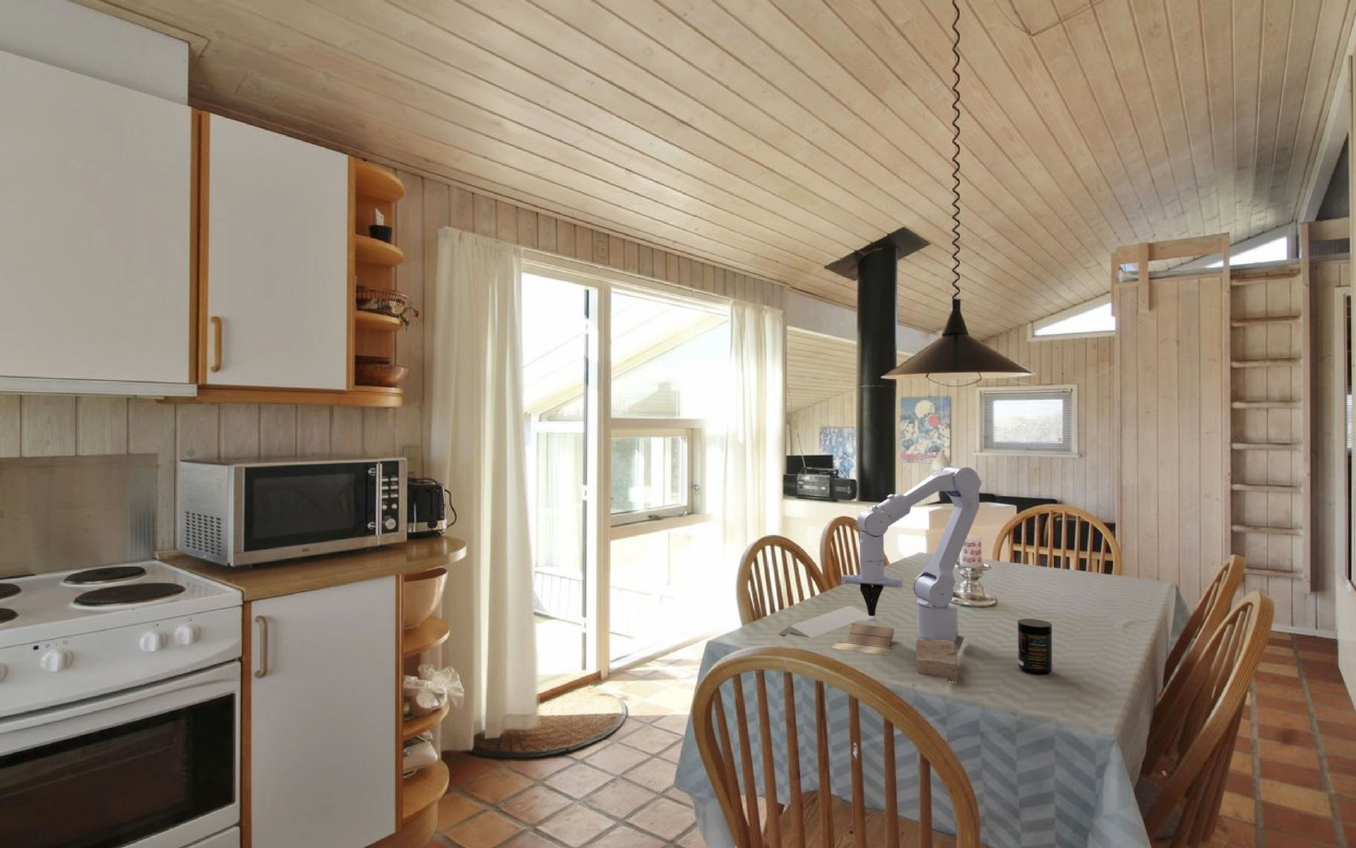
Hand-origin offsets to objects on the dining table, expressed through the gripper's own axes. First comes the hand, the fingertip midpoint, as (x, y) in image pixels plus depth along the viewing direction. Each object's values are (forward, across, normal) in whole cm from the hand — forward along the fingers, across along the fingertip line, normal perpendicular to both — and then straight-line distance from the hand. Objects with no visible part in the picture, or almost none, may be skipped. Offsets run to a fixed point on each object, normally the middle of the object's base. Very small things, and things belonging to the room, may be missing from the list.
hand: (871, 615), depth 178 cm
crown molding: (+8, +12, -11) cm, 18 cm away
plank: (+5, 0, +2) cm, 6 cm away
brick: (+8, -16, +14) cm, 22 cm away
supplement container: (+7, -36, +8) cm, 37 cm away
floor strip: (+7, +1, +9) cm, 11 cm away
